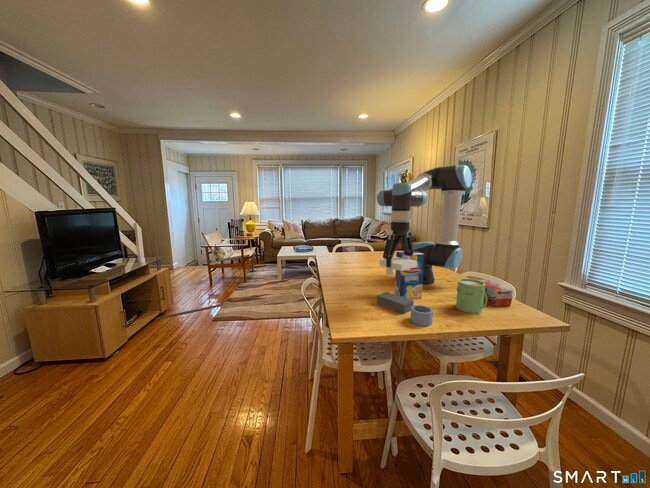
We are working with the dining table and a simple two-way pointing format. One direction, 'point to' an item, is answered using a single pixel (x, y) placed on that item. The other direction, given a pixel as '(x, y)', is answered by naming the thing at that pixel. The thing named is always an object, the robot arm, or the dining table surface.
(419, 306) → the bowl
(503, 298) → the medicine box
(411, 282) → the blue cereal box
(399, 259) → the tile
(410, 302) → the blue-grey rectangular block
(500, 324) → the dining table surface
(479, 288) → the mug
